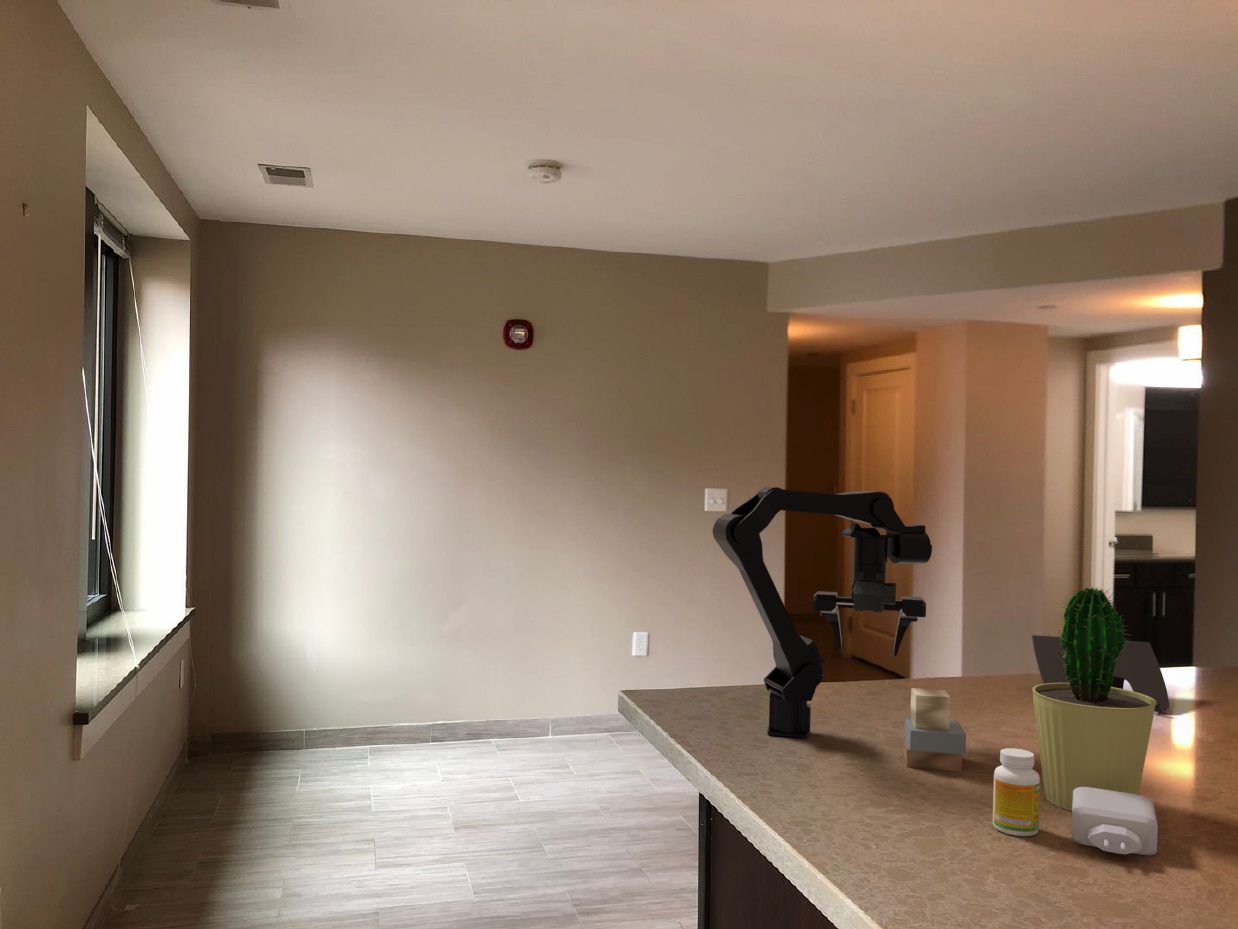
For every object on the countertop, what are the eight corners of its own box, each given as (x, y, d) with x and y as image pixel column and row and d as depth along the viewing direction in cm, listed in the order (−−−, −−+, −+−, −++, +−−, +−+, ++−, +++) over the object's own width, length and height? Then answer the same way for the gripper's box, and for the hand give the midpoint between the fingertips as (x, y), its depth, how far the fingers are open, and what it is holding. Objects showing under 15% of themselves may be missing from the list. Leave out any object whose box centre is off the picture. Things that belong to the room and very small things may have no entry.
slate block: (910, 750, 152) (910, 730, 152) (904, 736, 160) (905, 717, 160) (965, 754, 150) (965, 734, 150) (957, 740, 158) (957, 721, 158)
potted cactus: (1148, 831, 127) (1155, 594, 127) (1019, 806, 135) (1025, 583, 135) (1158, 798, 140) (1163, 583, 140) (1039, 777, 148) (1045, 574, 148)
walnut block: (906, 769, 152) (907, 749, 152) (902, 754, 160) (903, 735, 160) (961, 774, 150) (962, 754, 150) (955, 759, 158) (955, 740, 158)
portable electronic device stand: (1042, 734, 197) (1047, 696, 193) (1027, 661, 217) (1031, 626, 213) (1172, 745, 191) (1180, 706, 187) (1144, 669, 211) (1151, 633, 207)
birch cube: (915, 728, 153) (916, 695, 153) (910, 719, 158) (911, 688, 158) (949, 730, 153) (950, 697, 152) (943, 721, 157) (944, 690, 157)
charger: (1070, 861, 117) (1072, 821, 131) (1160, 877, 113) (1152, 834, 127) (1071, 821, 117) (1073, 784, 131) (1161, 835, 113) (1153, 796, 127)
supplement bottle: (1042, 839, 123) (1044, 760, 123) (996, 835, 124) (998, 756, 124) (1033, 824, 129) (1035, 748, 129) (989, 820, 130) (991, 745, 130)
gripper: (812, 565, 168) (809, 658, 168) (928, 571, 163) (926, 667, 163) (815, 559, 179) (813, 647, 179) (925, 564, 174) (923, 654, 174)
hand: (867, 654), depth 173 cm, fingers open, 9 cm apart
